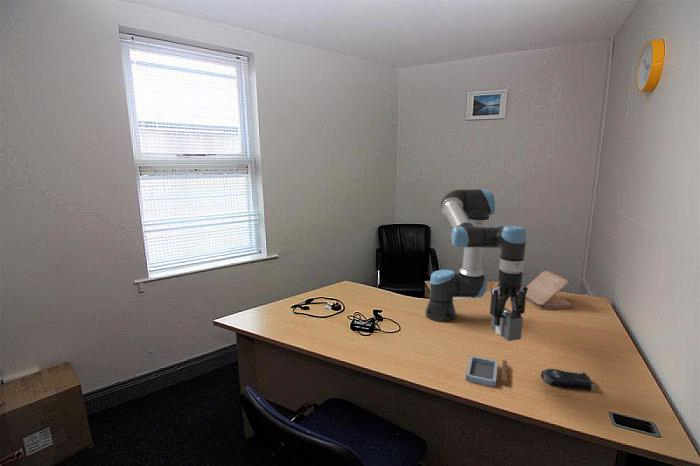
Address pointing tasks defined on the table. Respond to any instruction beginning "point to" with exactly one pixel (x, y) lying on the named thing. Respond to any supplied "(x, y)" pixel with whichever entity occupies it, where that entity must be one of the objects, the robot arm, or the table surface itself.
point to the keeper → (482, 371)
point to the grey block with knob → (509, 325)
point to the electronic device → (567, 379)
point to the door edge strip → (504, 372)
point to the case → (547, 291)
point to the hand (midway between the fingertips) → (505, 332)
